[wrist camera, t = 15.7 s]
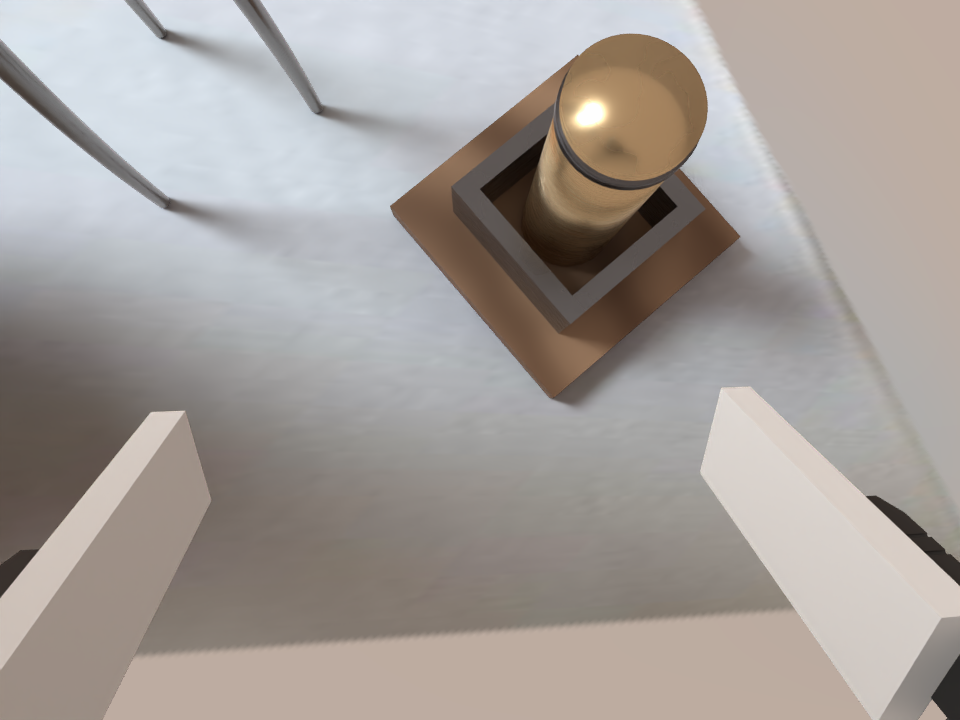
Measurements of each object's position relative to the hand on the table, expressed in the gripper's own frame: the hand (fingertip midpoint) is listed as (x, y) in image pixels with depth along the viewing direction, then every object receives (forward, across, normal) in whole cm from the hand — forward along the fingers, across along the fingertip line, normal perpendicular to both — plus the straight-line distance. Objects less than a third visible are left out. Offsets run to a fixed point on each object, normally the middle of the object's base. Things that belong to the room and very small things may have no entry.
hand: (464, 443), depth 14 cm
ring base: (+20, +7, 0) cm, 21 cm away
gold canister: (+19, +7, +1) cm, 20 cm away
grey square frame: (+19, +7, +1) cm, 20 cm away
